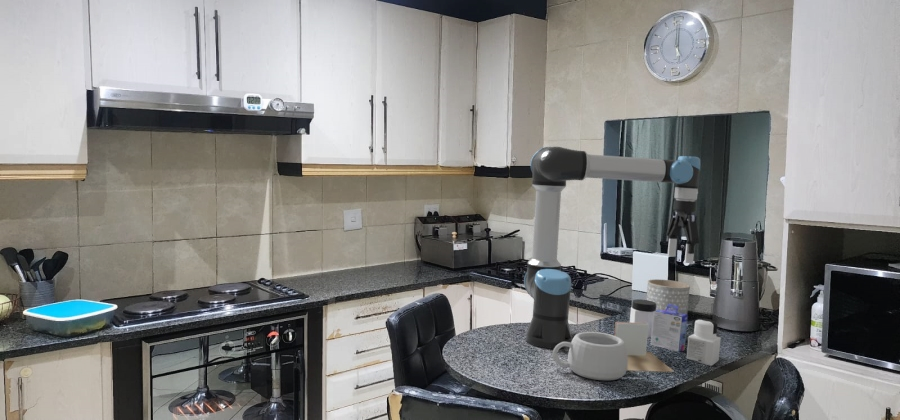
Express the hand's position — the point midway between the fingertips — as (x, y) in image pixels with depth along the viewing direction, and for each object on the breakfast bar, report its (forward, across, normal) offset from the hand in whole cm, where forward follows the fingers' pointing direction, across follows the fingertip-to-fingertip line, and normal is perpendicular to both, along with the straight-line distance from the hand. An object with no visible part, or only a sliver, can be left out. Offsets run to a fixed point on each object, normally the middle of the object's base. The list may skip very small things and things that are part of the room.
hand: (679, 259), depth 216 cm
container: (+28, -27, +2) cm, 39 cm away
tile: (+27, -25, +26) cm, 45 cm away
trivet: (+28, -31, +26) cm, 49 cm away
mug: (+28, -41, +44) cm, 66 cm away
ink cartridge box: (+28, -15, +8) cm, 33 cm away
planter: (+28, +34, -13) cm, 46 cm away
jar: (+28, 0, +12) cm, 30 cm away
